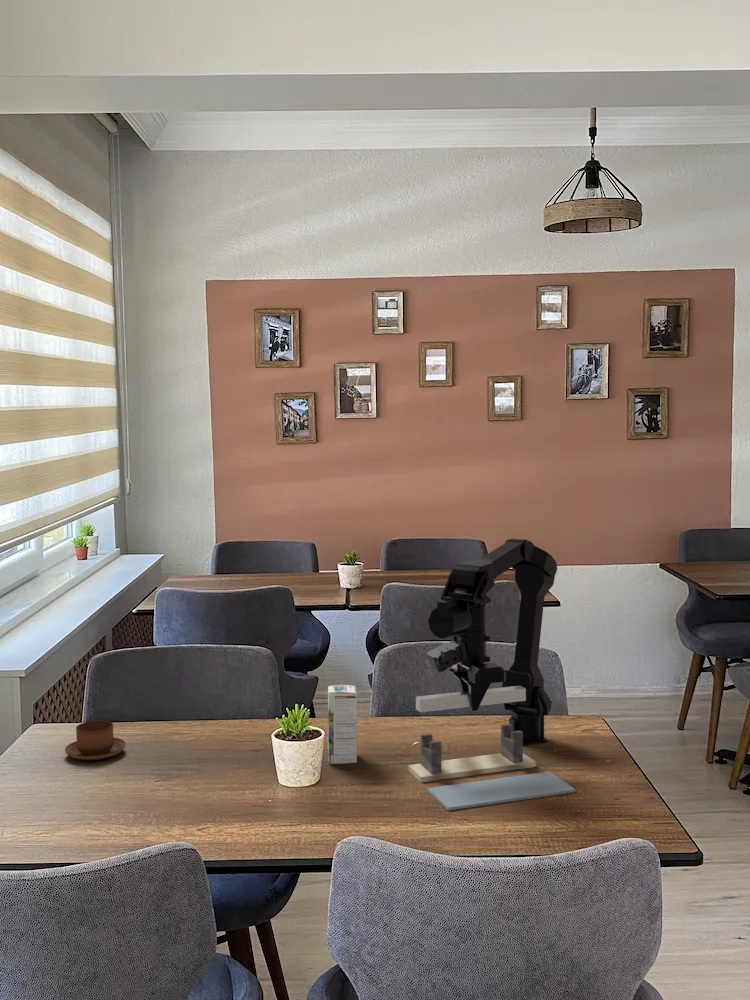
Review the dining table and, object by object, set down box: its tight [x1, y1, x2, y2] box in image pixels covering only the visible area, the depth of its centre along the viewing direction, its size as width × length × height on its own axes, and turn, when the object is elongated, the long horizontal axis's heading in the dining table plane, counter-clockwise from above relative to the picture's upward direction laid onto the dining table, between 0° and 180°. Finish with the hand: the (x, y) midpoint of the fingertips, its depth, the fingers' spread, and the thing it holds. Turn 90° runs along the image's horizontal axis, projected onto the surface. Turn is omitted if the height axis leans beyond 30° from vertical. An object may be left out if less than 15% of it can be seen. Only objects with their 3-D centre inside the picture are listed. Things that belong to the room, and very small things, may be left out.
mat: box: [426, 771, 576, 811], centre depth 186 cm, size 25×10×1 cm, turn 108°
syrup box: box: [327, 684, 358, 765], centre depth 204 cm, size 6×6×14 cm
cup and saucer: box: [64, 720, 126, 761], centre depth 209 cm, size 12×12×6 cm
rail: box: [415, 686, 526, 713], centre depth 197 cm, size 22×2×2 cm, turn 108°
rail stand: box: [407, 723, 537, 783], centre depth 198 cm, size 24×7×7 cm, turn 108°
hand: (471, 708), depth 197 cm, fingers closed on rail, 2 cm apart
